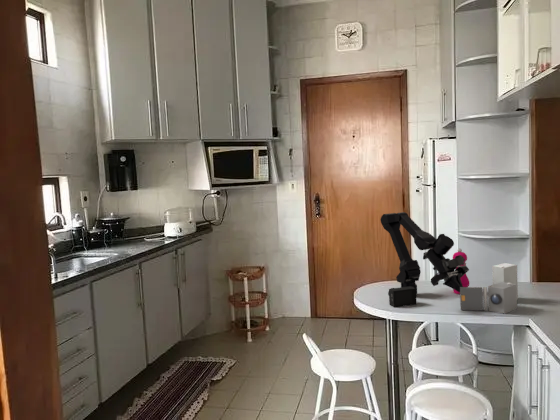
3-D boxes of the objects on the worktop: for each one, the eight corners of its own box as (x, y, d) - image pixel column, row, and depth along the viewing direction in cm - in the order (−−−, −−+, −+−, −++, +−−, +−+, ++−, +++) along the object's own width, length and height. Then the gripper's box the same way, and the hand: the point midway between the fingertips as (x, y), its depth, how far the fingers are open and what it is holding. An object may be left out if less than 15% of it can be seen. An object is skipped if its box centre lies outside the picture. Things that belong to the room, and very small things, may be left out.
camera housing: (486, 311, 176) (486, 285, 176) (501, 305, 183) (500, 280, 182) (502, 314, 171) (501, 287, 171) (516, 308, 178) (516, 282, 177)
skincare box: (506, 297, 194) (505, 262, 193) (519, 300, 189) (518, 264, 188) (492, 300, 190) (491, 265, 189) (505, 303, 185) (504, 267, 184)
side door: (487, 309, 177) (486, 287, 177) (487, 310, 176) (487, 288, 175) (460, 308, 180) (459, 286, 180) (460, 310, 179) (460, 287, 178)
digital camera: (410, 301, 196) (409, 285, 196) (416, 304, 191) (416, 288, 191) (388, 304, 194) (387, 288, 194) (394, 307, 189) (393, 290, 188)
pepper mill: (466, 290, 208) (465, 246, 207) (471, 294, 201) (470, 249, 200) (450, 290, 209) (449, 247, 208) (454, 294, 202) (453, 250, 201)
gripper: (436, 252, 178) (462, 285, 170) (464, 246, 188) (490, 276, 180) (420, 269, 185) (444, 301, 177) (447, 262, 195) (472, 292, 187)
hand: (463, 292), depth 180 cm, fingers closed
